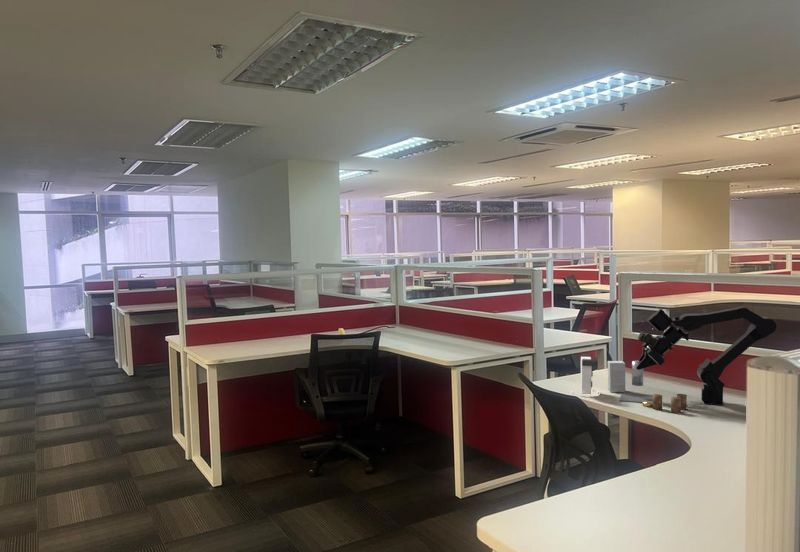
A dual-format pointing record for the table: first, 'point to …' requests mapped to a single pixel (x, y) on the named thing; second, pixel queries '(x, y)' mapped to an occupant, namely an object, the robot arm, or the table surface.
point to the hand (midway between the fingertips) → (636, 367)
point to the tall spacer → (637, 374)
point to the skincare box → (616, 376)
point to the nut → (648, 403)
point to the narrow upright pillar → (586, 374)
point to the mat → (635, 397)
